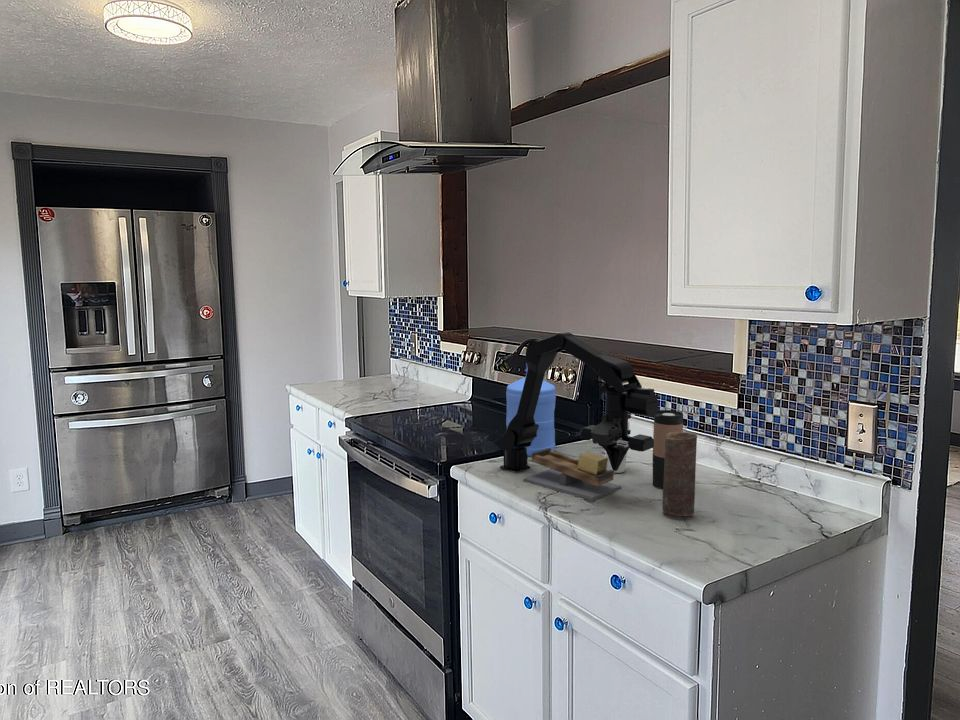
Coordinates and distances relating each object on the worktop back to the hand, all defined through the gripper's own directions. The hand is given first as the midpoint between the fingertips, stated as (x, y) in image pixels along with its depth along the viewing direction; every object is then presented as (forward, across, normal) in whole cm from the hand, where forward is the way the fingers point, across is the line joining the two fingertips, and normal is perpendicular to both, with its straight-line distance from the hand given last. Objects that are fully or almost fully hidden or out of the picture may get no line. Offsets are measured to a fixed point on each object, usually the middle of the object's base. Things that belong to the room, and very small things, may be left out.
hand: (615, 470), depth 178 cm
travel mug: (+7, +5, +17) cm, 19 cm away
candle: (+7, +18, -1) cm, 20 cm away
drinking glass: (+7, -12, +19) cm, 23 cm away
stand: (+7, -14, 0) cm, 15 cm away
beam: (+2, -14, 0) cm, 14 cm away
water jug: (+7, -44, +19) cm, 48 cm away
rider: (+3, -7, 0) cm, 8 cm away
